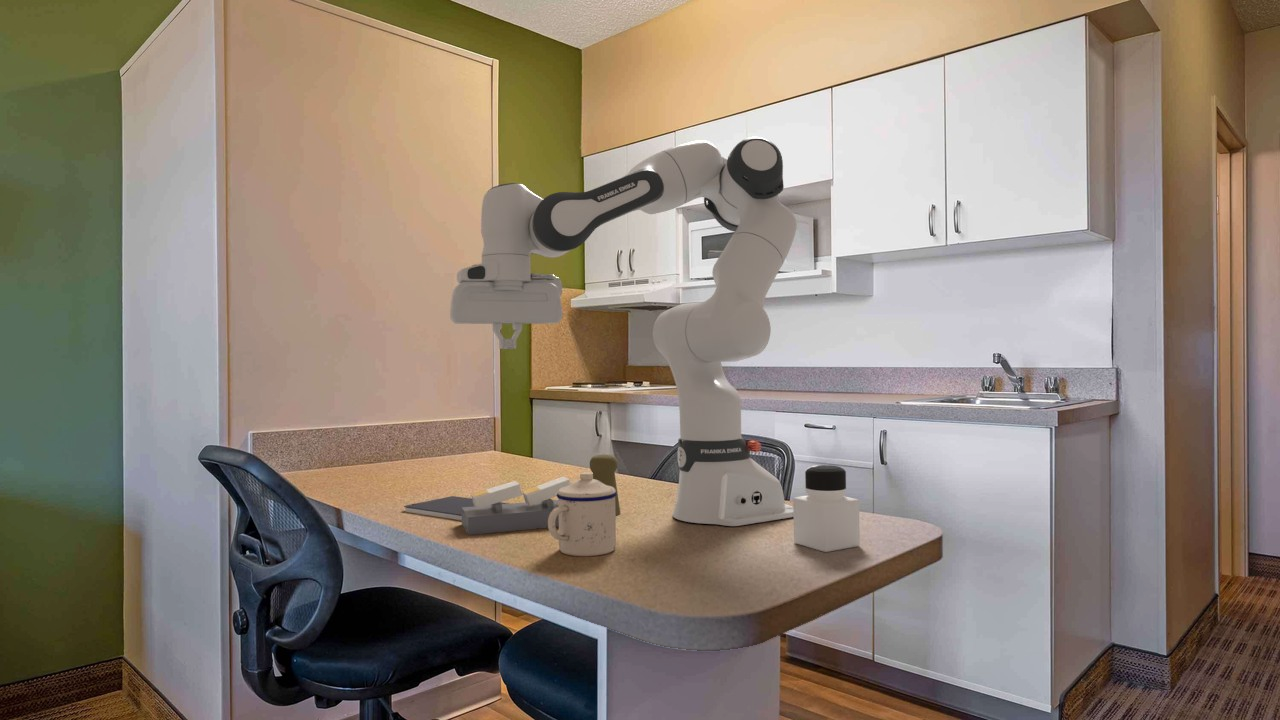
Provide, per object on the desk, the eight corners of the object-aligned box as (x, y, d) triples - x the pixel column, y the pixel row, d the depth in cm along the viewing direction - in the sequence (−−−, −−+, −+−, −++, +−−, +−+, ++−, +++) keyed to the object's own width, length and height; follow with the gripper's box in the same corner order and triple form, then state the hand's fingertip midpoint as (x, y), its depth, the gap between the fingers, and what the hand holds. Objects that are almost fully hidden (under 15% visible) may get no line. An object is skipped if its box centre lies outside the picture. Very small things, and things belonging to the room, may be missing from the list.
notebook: (527, 513, 149) (452, 503, 161) (527, 505, 149) (452, 495, 161) (478, 526, 138) (402, 514, 151) (478, 517, 138) (402, 505, 151)
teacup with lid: (589, 539, 124) (587, 467, 124) (630, 548, 118) (628, 472, 118) (530, 554, 115) (528, 476, 115) (571, 565, 109) (569, 482, 109)
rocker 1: (517, 491, 138) (515, 480, 138) (522, 495, 135) (519, 483, 134) (473, 504, 136) (470, 493, 135) (477, 509, 132) (474, 497, 132)
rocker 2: (566, 486, 141) (563, 475, 141) (572, 490, 138) (569, 478, 137) (525, 502, 139) (521, 491, 139) (529, 505, 135) (526, 494, 135)
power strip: (602, 512, 146) (601, 489, 146) (616, 521, 138) (616, 497, 138) (461, 524, 137) (461, 500, 137) (468, 535, 129) (468, 509, 129)
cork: (616, 517, 141) (615, 457, 141) (584, 516, 142) (583, 456, 142) (623, 510, 147) (622, 453, 147) (592, 510, 148) (591, 452, 148)
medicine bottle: (860, 546, 117) (859, 467, 117) (825, 553, 113) (823, 471, 113) (827, 537, 123) (826, 461, 123) (792, 543, 119) (791, 465, 119)
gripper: (557, 276, 148) (559, 348, 148) (448, 273, 141) (449, 349, 141) (565, 272, 142) (567, 347, 142) (452, 269, 135) (453, 348, 135)
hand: (507, 348), depth 142 cm, fingers closed
